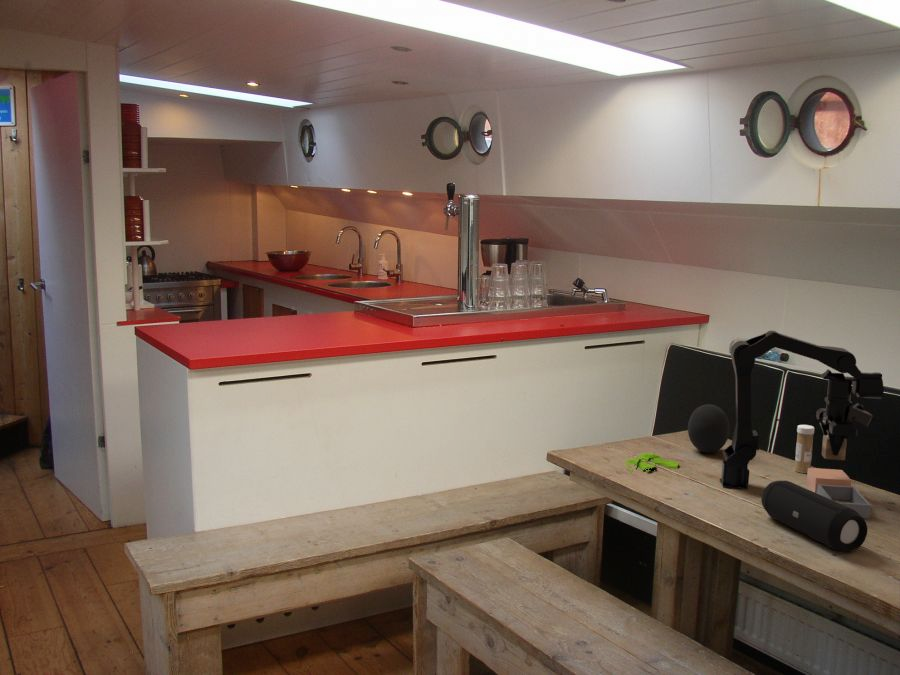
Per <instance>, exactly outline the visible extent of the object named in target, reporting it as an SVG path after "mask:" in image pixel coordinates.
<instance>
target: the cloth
mask: <svg viewBox="0 0 900 675" xmlns="http://www.w3.org/2000/svg"><path fill="white" fill-rule="evenodd" d="M638 455H640V456H642V457H636V458H637V459H631V460H629V459H628V458H626V460H627V461H626V460H625V461H626V463H627V466H629V463H632V464H634V466H636V468H637V469H639V468H640V469H641V470H642V471H643V472H644V471H645V469H646V468H652V469H654V470H657V471H658V467H657V466H660V465H661V467H663V466H664V467H663V468H667V467H668V469H673V470H678V465H679V466H680V462H677V461H674V460H669V459H664V457H662V456H660V455H659V454H655V453H653V452H649V453H639V454H638ZM660 458H663V459H660ZM651 459H652V460H651ZM641 460H644V461H645V462H641ZM647 461H649V462H647ZM650 462H652V463H650ZM649 463H650V464H649ZM653 463H655V464H653ZM656 464H658V465H656ZM627 466H626V467H627ZM637 466H638V467H639V468H638V467H637ZM629 469H630V470H631V471H633V469H632V468H631V467H630V466H629ZM640 469H639V470H640ZM652 469H650V470H648V469H646V470H647V471H645V473H646V472H647V474H648V475H650V472H652V473H654V472H653V471H651V470H652ZM641 470H640V471H641ZM642 471H641V472H642Z"/></svg>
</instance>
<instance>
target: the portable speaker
mask: <svg viewBox="0 0 900 675" xmlns="http://www.w3.org/2000/svg"><path fill="white" fill-rule="evenodd" d="M837 502H838V501H835V500H834V499H832V500H831V499H828V498H826V497H824V496H821V495H819V494H817V493H815V492H813V491H812V490H811V489H808V488H805V487H803V486H801V485H800V484H796V483H795V482H791V481H789V480H774V481H772V482H770V483H768V484H767V486H766V487H765V488H764V490H763V492H762V493H761V505H762V507H763V509H764V510H765V512H766V514H768V516H770V517H771V518H772V519H774V520H776V521H778V522H781V523H782V524H784V525H786V526H788V527H790V528H792V529H794V530H796V531H798V532H799V533H802V534H804V535H805V536H808V537H810V538H812V539H814V540H815V541H817V542H820V543H822V544H824V545H826V546H828V547H830V548H831V549H834V550H835V551H838V552H853V551H856V550H857V549H859V548H861V546H862V545H863V544H864V542H865V540H866V538H867V536H868V524H867V522H866V520H865V518H862V517H861V515H860V514H859V513H858V512H857V511H855V510H853V509H851V508H849V507H846V506H844V505H842V504H840V503H841V502H840V503H837Z"/></svg>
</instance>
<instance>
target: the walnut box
mask: <svg viewBox="0 0 900 675" xmlns="http://www.w3.org/2000/svg"><path fill="white" fill-rule="evenodd" d="M847 442H848V439H846V438H845V440H844V442H843V444H842V446H841V449H840V451H839V453H838V455H833V453H832V449H831V445H830V442H829V438H828V435H824V434H823V436H822V445H821V456H822V457H823V458H824V459H825V460H836V461H846V454H847V453H846V452H847Z"/></svg>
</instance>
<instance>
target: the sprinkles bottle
mask: <svg viewBox="0 0 900 675" xmlns="http://www.w3.org/2000/svg"><path fill="white" fill-rule="evenodd" d="M796 432H797V436H796V437H797V438H796V444H795V445H796V446H795V458H794V459H795V460H794V461H795V462H794V471H795V472H797V473H800V474H807V472H808V468H812V467H811V464H812V457H813V442H814V434H815V427H814V426H813V425H809V424H799V425H797V428H796Z"/></svg>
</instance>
